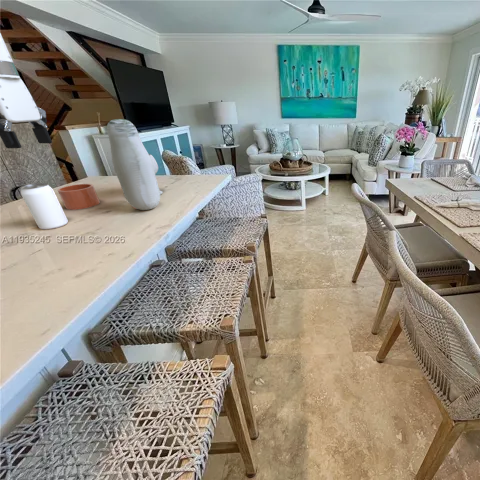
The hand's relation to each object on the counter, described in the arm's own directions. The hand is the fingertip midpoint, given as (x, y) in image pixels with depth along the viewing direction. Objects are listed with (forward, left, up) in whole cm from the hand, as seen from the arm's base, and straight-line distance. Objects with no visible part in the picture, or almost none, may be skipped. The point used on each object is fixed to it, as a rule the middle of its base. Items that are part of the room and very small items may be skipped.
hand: (31, 145), depth 71 cm
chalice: (+27, +3, -22) cm, 35 cm away
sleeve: (+9, +9, -22) cm, 25 cm away
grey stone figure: (+18, -12, -22) cm, 31 cm away
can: (-4, -2, -22) cm, 23 cm away
